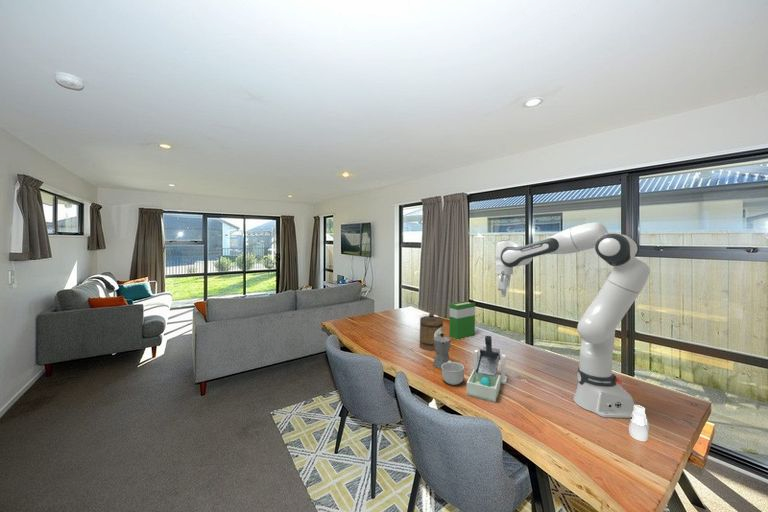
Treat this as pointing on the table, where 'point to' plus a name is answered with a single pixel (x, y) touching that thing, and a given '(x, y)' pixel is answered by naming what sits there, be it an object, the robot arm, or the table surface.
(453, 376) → the teacup
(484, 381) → the ball
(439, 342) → the coffeepot
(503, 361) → the lever frame
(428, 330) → the wooden container
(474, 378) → the bin
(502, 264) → the robot arm
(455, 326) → the cereal box
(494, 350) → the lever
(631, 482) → the table surface
